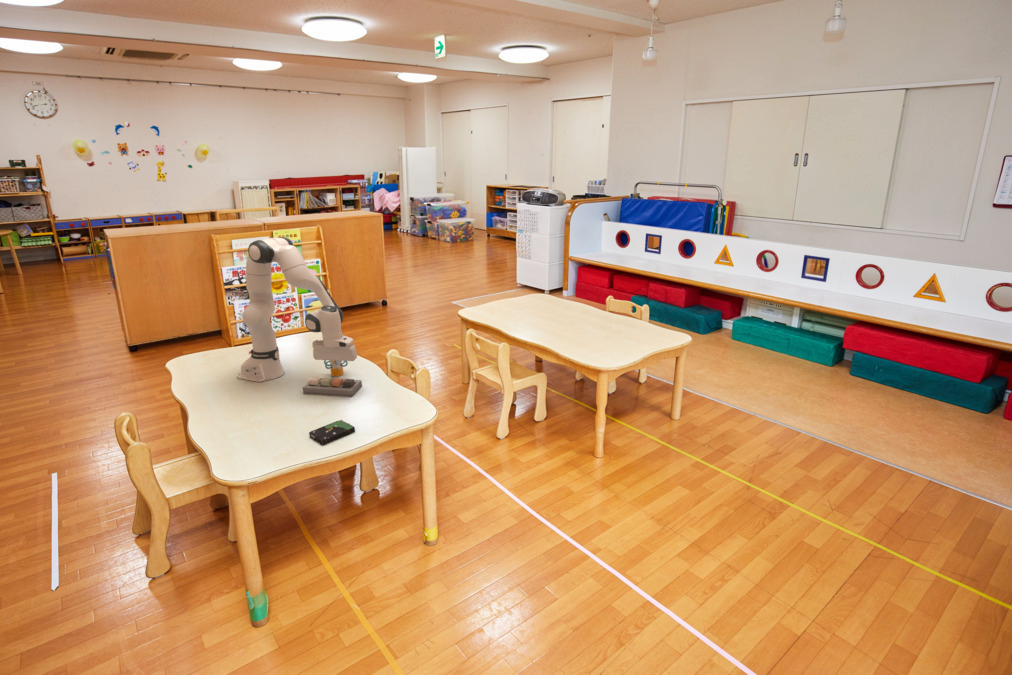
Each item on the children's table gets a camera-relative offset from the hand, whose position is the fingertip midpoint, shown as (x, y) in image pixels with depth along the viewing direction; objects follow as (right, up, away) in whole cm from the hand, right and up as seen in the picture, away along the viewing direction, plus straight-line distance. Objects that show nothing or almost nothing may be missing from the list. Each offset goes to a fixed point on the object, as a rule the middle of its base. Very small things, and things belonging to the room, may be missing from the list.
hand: (336, 368), depth 260 cm
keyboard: (-3, -10, +4) cm, 12 cm away
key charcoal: (+5, -8, +2) cm, 10 cm away
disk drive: (+9, -25, -35) cm, 44 cm away
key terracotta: (0, -8, +3) cm, 8 cm away
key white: (-11, -7, +4) cm, 14 cm away
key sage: (-6, -8, +3) cm, 10 cm away
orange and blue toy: (-6, -4, +22) cm, 23 cm away
